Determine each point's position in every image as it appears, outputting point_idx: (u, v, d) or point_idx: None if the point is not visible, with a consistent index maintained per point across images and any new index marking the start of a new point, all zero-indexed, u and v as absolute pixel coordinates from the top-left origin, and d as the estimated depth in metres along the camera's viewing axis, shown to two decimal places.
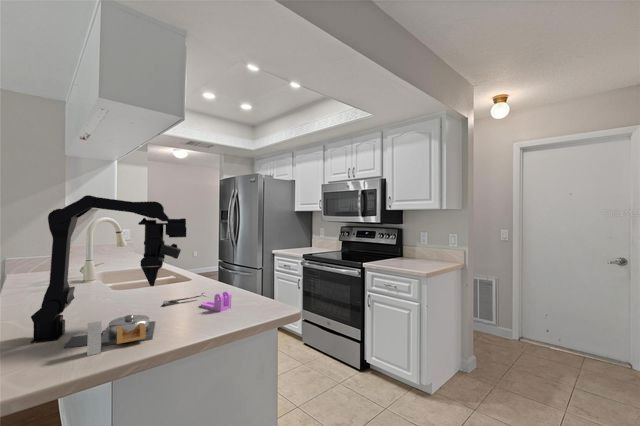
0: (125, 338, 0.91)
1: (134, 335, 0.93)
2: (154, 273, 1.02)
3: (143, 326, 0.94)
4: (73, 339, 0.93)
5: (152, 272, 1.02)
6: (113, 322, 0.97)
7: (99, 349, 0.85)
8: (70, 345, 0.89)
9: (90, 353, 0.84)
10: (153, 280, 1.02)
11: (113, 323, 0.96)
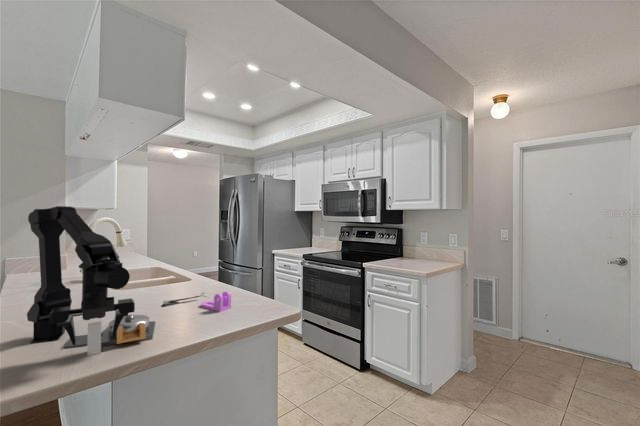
0: (125, 338, 0.91)
1: (134, 335, 0.93)
2: None
3: (143, 326, 0.94)
4: None
5: None
6: (113, 322, 0.97)
7: (99, 349, 0.85)
8: (70, 345, 0.89)
9: (90, 353, 0.84)
10: (70, 338, 0.83)
11: (113, 323, 0.96)
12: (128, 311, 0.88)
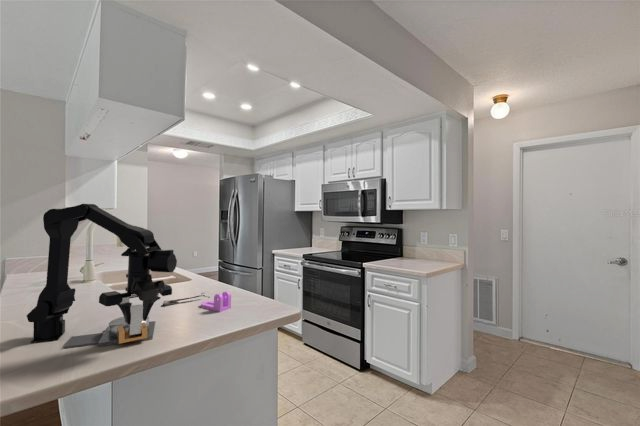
0: (127, 338, 0.91)
1: (136, 335, 0.93)
2: (125, 311, 0.91)
3: (144, 326, 0.94)
4: (73, 339, 0.93)
5: None
6: (113, 322, 0.97)
7: (140, 329, 0.93)
8: (70, 345, 0.89)
9: (132, 333, 0.92)
10: (126, 318, 0.92)
11: (113, 323, 0.96)
12: (168, 294, 0.99)
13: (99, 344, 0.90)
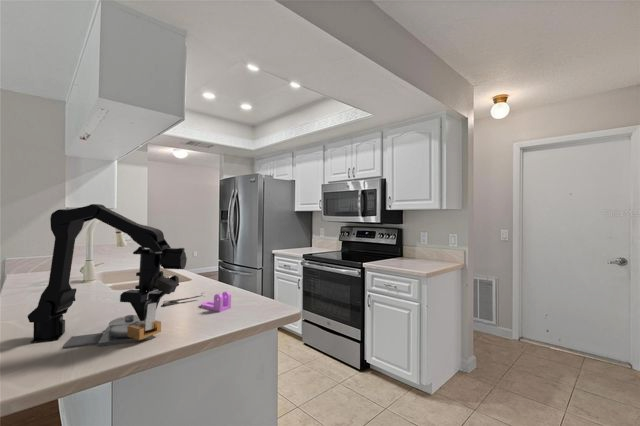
0: (144, 334, 0.94)
1: (149, 331, 0.96)
2: (142, 307, 0.94)
3: (156, 321, 0.98)
4: (73, 339, 0.93)
5: (140, 306, 0.94)
6: (114, 324, 0.95)
7: (153, 325, 0.97)
8: (70, 345, 0.89)
9: (147, 328, 0.95)
10: (142, 315, 0.94)
11: (115, 325, 0.95)
12: None
13: (99, 344, 0.90)
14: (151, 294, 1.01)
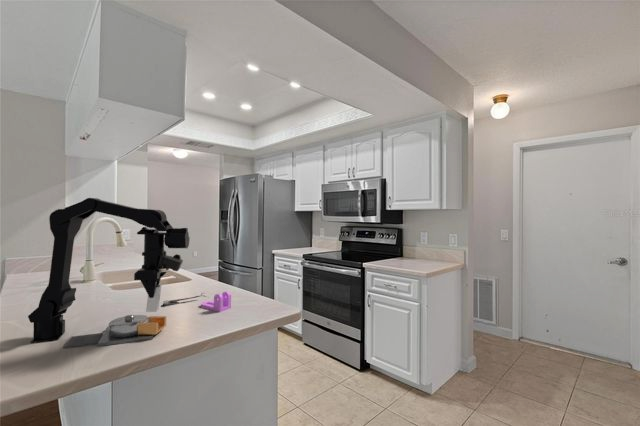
0: None
1: None
2: (153, 284, 0.98)
3: (161, 316, 1.03)
4: (73, 339, 0.93)
5: (151, 283, 0.98)
6: (119, 325, 0.95)
7: (158, 305, 1.02)
8: (70, 345, 0.89)
9: (156, 309, 1.00)
10: (152, 292, 0.98)
11: (121, 325, 0.95)
12: (169, 268, 1.09)
13: (99, 344, 0.90)
14: None
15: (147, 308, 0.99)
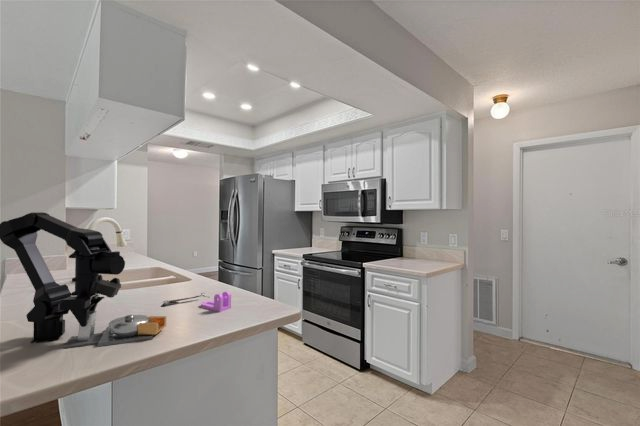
0: None
1: None
2: (84, 313, 0.91)
3: (161, 316, 1.03)
4: (73, 339, 0.93)
5: (82, 312, 0.91)
6: (119, 325, 0.95)
7: (93, 333, 0.95)
8: (70, 345, 0.89)
9: (90, 338, 0.93)
10: (84, 320, 0.91)
11: (121, 325, 0.95)
12: None
13: (99, 344, 0.90)
14: None
15: (79, 337, 0.92)
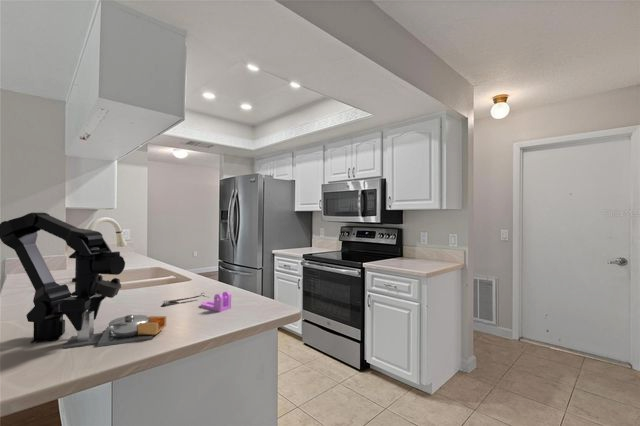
0: None
1: None
2: (79, 316, 0.88)
3: (161, 316, 1.03)
4: (73, 339, 0.93)
5: (77, 315, 0.88)
6: (119, 325, 0.95)
7: (93, 333, 0.95)
8: (70, 345, 0.89)
9: (90, 338, 0.93)
10: (79, 324, 0.88)
11: (121, 325, 0.95)
12: None
13: (99, 344, 0.90)
14: (91, 298, 0.98)
15: (78, 338, 0.92)
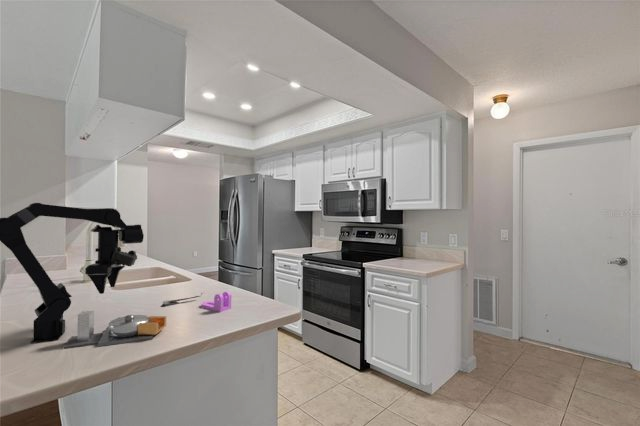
0: None
1: None
2: (102, 281, 1.01)
3: (161, 316, 1.03)
4: (73, 339, 0.93)
5: (100, 280, 1.01)
6: (119, 325, 0.95)
7: (93, 333, 0.95)
8: (70, 345, 0.89)
9: (90, 338, 0.93)
10: (102, 288, 1.01)
11: (121, 325, 0.95)
12: None
13: (99, 344, 0.90)
14: None
15: (78, 338, 0.92)
